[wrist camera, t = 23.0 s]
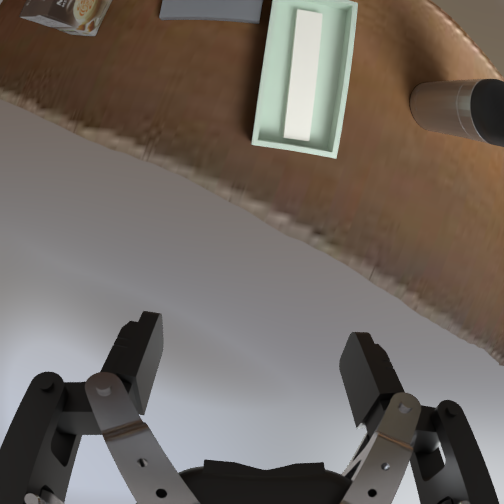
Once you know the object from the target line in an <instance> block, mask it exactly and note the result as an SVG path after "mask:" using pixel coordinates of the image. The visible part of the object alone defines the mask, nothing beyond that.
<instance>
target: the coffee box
mask: <svg viewBox="0 0 504 504" xmlns="http://www.w3.org/2000/svg"><path fill="white" fill-rule="evenodd" d="M111 1H112V0H27V1H26V3H25V5H24V7H23V9H22V11H21V13H20V16H19V17H21V18H24V19H27V20H31V21H34V22H37V23H40V24H43V25H46V26H49V27H52V28H55V29H58V30H60V31H63V32H66V33H69V34H72V35H84V36H95V35H96V33H97V31H98V29H99V26H100V24H101V22H102V20H103V18H104V16H105V14H106V11H107V9H108V7H109V5H110V3H111Z"/></svg>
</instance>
